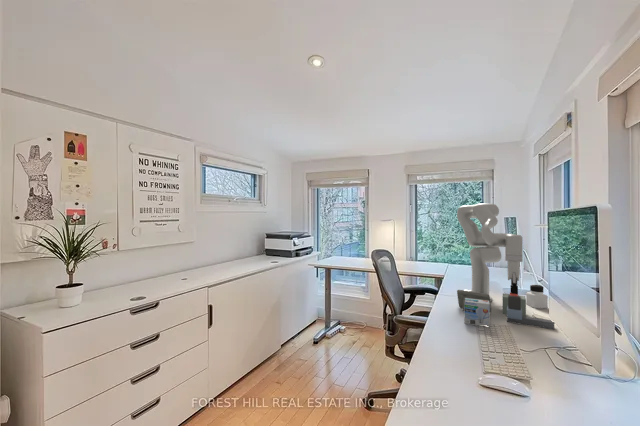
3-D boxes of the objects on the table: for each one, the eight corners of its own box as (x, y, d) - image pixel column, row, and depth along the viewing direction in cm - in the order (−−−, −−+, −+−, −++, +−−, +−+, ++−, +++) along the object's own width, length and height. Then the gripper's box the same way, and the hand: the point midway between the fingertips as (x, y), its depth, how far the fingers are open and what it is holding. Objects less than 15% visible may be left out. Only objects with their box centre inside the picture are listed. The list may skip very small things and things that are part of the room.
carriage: (506, 317, 141) (506, 297, 141) (507, 313, 147) (507, 293, 147) (522, 320, 138) (522, 299, 138) (521, 316, 144) (521, 295, 144)
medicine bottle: (547, 308, 163) (547, 286, 163) (534, 308, 163) (534, 286, 164) (538, 304, 170) (538, 283, 171) (526, 304, 171) (526, 283, 171)
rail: (506, 321, 143) (506, 315, 143) (507, 319, 146) (506, 313, 146) (554, 329, 133) (554, 323, 133) (553, 326, 136) (553, 320, 136)
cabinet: (502, 314, 154) (502, 296, 154) (502, 309, 160) (502, 293, 160) (526, 317, 148) (525, 299, 148) (525, 313, 155) (525, 296, 155)
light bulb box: (464, 323, 140) (464, 300, 140) (464, 319, 146) (464, 297, 146) (490, 327, 135) (490, 304, 135) (489, 323, 141) (489, 300, 141)
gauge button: (509, 302, 154) (509, 293, 154) (509, 300, 157) (509, 292, 157) (518, 303, 152) (518, 294, 152) (518, 301, 155) (517, 293, 155)
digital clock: (493, 313, 155) (493, 293, 155) (485, 317, 149) (484, 296, 149) (462, 305, 168) (462, 287, 168) (454, 308, 162) (454, 289, 162)
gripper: (505, 256, 163) (505, 289, 162) (505, 259, 150) (505, 295, 150) (522, 257, 159) (522, 291, 158) (523, 260, 146) (523, 297, 146)
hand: (514, 293), depth 154 cm, fingers closed
